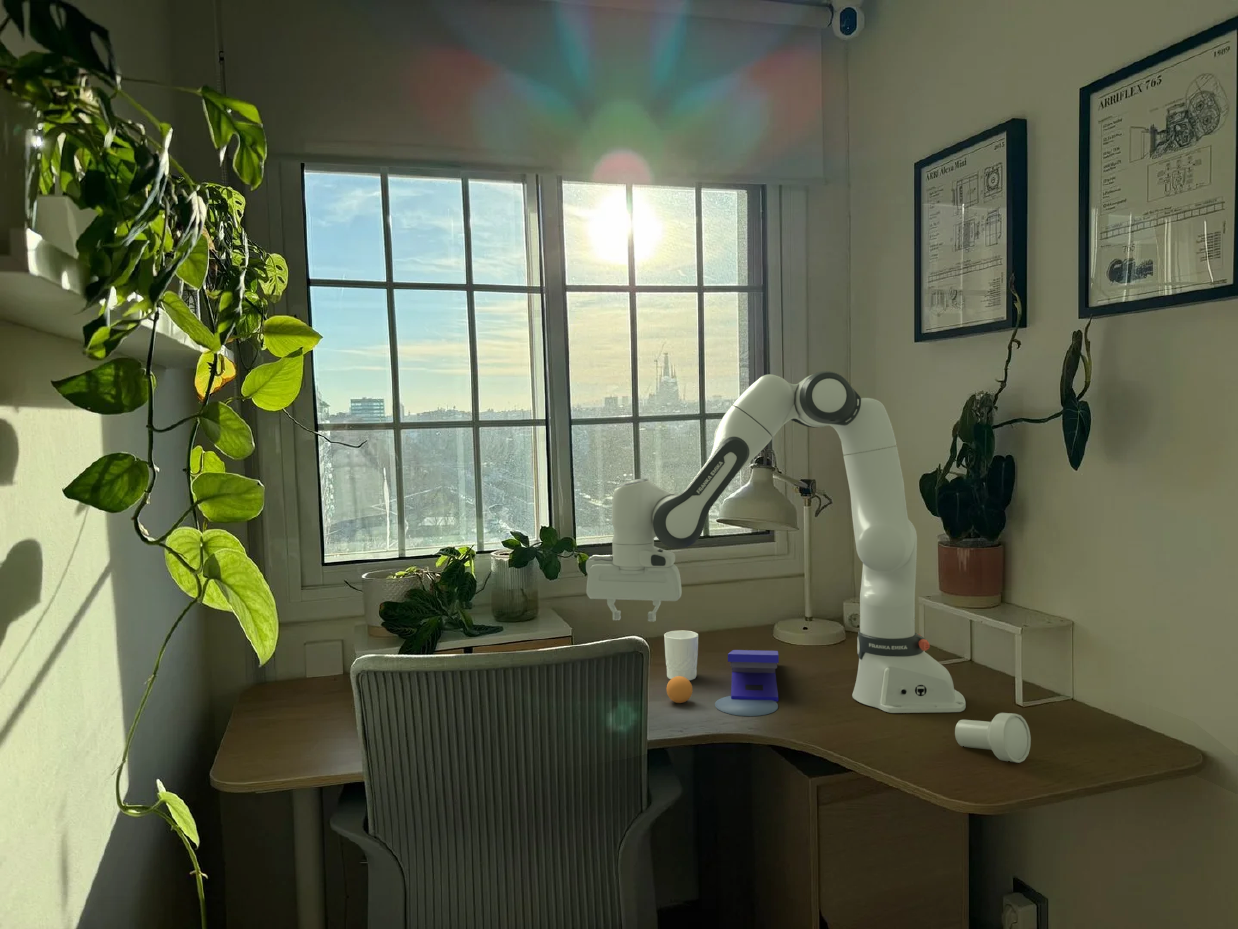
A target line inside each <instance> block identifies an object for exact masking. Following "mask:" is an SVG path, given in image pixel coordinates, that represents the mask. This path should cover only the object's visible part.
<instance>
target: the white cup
mask: <svg viewBox="0 0 1238 929" xmlns="http://www.w3.org/2000/svg"><path fill="white" fill-rule="evenodd" d="M663 636H664V656H665V666H666V677H667V679H669V680H671V679H672V678H674V677H676V676H682V677H685V678H687V679H688V680H689V681H693V680H695V679H696V677H697V669H698V668H697V666H698V654H699V633H697V632H695V631H691V630H671V631H667V632H666V633H663Z"/></svg>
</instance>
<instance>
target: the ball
mask: <svg viewBox="0 0 1238 929" xmlns="http://www.w3.org/2000/svg"><path fill="white" fill-rule="evenodd" d="M690 681H691V680H688V679H687V678H685V677H682V676H676V677H674V678H672V679H669V680H668V681H667V682H668V683H667V685H666V689H665V690H666V694H667V697H668V698H669V699H670V700H671V701H673V702H674V703H677V704H683V703H686V702H687V701H688V700H690V698H691V697H692V694H693V690H694V689H693V685H692V682H690Z"/></svg>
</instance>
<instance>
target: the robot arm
mask: <svg viewBox="0 0 1238 929" xmlns="http://www.w3.org/2000/svg"><path fill="white" fill-rule="evenodd" d="M789 421H792V422H795V423H797V424H800V425H801V426H804V427H808V428H823V427H828V426H830V427H831V428H833V429H834V430H835V431H836V433H837V435H838V437H839V440H840V443H841V449H842V455H843V461H844V466H845V472H846V477H847V482H848V488H849V494H850V506H851V516H852V528H853V534H854V540H855V541H854V542H855V549H856V554H857V556H858V558H859V560H860V561H861V562H862V572H861V582H860V584H861V585H860V591H859V592H860V593H859V605H860V606H859V630H858V632H857V639H856V640H857V645H856V647H857V648H856V649H857V656H858V667H857V673H856V679H855V680H856V681H855V684H854V687H853V691H852V695H851V696H852V699H854V700H855V701H857V702H859V703H860V704H863V705H866V706H869V707H873V708H876V709H879V710H882V711H883V712H885V713H886V712H887V713H890V714H902V713H903V714H905V713H906V714H910V713H913V714H914V713H917V714H918V713H919V714H920V713H961V712H963V711H965V709H966V708H967V707H966V706H967V704H966V699H965V697H964V695H963V694H962V693H961V692H960V691H958V690H956V689H955V688H954V687H955V686H954V681H953V678H952V675H951V674H950V672H949V670H948V669H947V668H946V667H945V666H944V665H943V664H941V663H940V662H939V661H938V660H936V659H935V658H933V657H932V656H931V655H930V654H929V653H927V652H925V651H928V650H929V649H930V647H931V645H930V643H929V641H928V640H927V639H925V637H924V636H922V635H921V634H920V633H917V632H915V631H916V630H915V629H916V628H915V627H916V625H915V624H916V623H915V622H916V619H915V618H916V617H915V615H916V611H915V610H916V606H915V604H916V603H915V602H916V601H915V600H916V578H917V559H918V558H917V553H918V550H917V549H918V534H917V530H916V528H915V525H914V524H913V522H912V521H911V520H910V519H909V516H908V509H907V508H908V507H907V502H906V493H905V492H906V491H905V483H904V482H905V481H904V476H903V471H902V467H901V459H900V456H899V455H900V454H899V449H898V446H897V440H896V436H895V435H896V434H895V431H894V429H893V425H892V421H891V420H890V416H889V414H888V412H887V409H886V407H885V405H884V404H883V403H882V402H881V401H880V400H878V399H875V398H872V397H861V395H860V394H859V393H858V392H857V391H856V389H855V388H853V386H852V385H851V384H850V382H849V381H848V380H847V379H846V378H845V377H844V376H843V375H841V374H839V373H837V372H834V371H830V370H822V371H818V372H815V373H813V374H811V375H808V376H806V377H805V378H803V379H802V380H801V381H799V382H798V383H796V384H795V383H794V384H793V383H791V382H788V381H787V380H786V379H785V378H783V377H782V376H779V375H775V374H770V373H769V374H764V375H761V376H760V377H759V378H758V379H756V380H755V381H754V382H753V383H752V384H751V385H750V386H748V387H747V388H746V390H744V391H743V392H742V393H741V394H740V395H739V397H738V398H737V399H736V400H735V401H734V402H733V403H732V404H731V406H730V407H729V408H728V409H727V410H726V412H725V413H724V415H723V417H722V418H721V420H720V421H719V423H718V425H717V426H716V428H715V431H714V435H713V445H712V450H711V453H710V455H709V457H708V459H707V460H706V462H705V464H704V465H703V466H702V467H701V469H699V471H698V473H697V474H696V475H695V476H694V478H693V479H692V480H691V482H690V483H689V484H688V485H687V487H685V489H684V490H683V491H682V492H681V493H680V494H679V493H676V492H673V491H669V490H666V489H665V488H662V487H660V486H658V485H657V484H655V483H653V482H652V481H651V480H649V479H647V478H639V479H638V478H637V479H636V478H635V479H629V480H626V481H623V482H621V483H619V484H618V485H617V486H616V487H615V489H614V490H613V493H612V494H613V495H612V502H611V523H612V526H613V537H612V540H611V542H612V544H611V546H612V555H611V554H608V555H607V554H606V555H604V554H603V555H599V554H593V555H592V556H590V557H588V558H587V559H586V561H585V571H586V574H587V578H586V579H587V581H586V596H587V597H588V598H589V599H590V600H594V599H595V600H606V604H607V606H608V608H609V610H610V611H611V613H612V621H620V620H621V618H622V616H621V614H622V611H621V610H618V609H617V607H616V605H615V603H616V600H625V601H627V600H629V601H652V606H654V608H653V610H652V611H648V612H647V617H648V618H647V622H656V620H657V617H656V616H657V612H658V610H659V607H660V606H661V604H662V602H663V601H664V602H676V601H677V602H678V600H680V598H682V593H683V592H682V591H683V589H682V580H681V573H680V570H679V568H678V566H677V565H676V564H674V563H675V562H676V554H675V553H674V552H673V551H669V550H667V549H664V548H660V547H657V546H655V538H657V539H658V541H659V542H661V543H662V544H663V545H664V546H667V547H668V548H672V549H685V548H688V547H690V546H692V545H693V544H694V543H696V542H697V541H698V540H699V538H700V537H701V535H702V534H703V530H704V528H705V525H706V521H707V517H708V514H709V512H710V510H711V509H712V507H713V505H714V504H715V503H716V502H717V500H718V499H719V497H720V496H721V495H722V494H723V492H724V491H725V490H726V489H727V487H728V486H729V485H730V484H731V482H732V481H733V480H734V478H735V477H736V476H737V475H738V474H739V472H740V471H741V470H742V469H744V468H745V467H746V466H747V465H748V464H749V463H750V462H751V461H752V460H753V459H754V458H755V457H756V456H758V454H760V453H761V452H762V451H763V450H764V449H765V447H766V446H767V445H768V444H769V443H770V442H771V441H772V439H773V438H774V437H775V436H776V434H777V433H778V432H779V431H780V430H781V428H782V427H783V426H784V425H786V423H788V422H789Z"/></svg>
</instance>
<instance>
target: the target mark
mask: <svg viewBox="0 0 1238 929" xmlns="http://www.w3.org/2000/svg"><path fill="white" fill-rule="evenodd" d="M714 708H716V709H717V710H718V711H720V712H722V713H725V714H727V715H732V716H737V717H760V716H766V715H770V714H772V713H775V712H776V711H777V710H778V709H779V705H778V703H777V701H773V700H750V699H731V695H727V696H724V697H721V698H719V699H717V700H716V701H715V702H714Z"/></svg>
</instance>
